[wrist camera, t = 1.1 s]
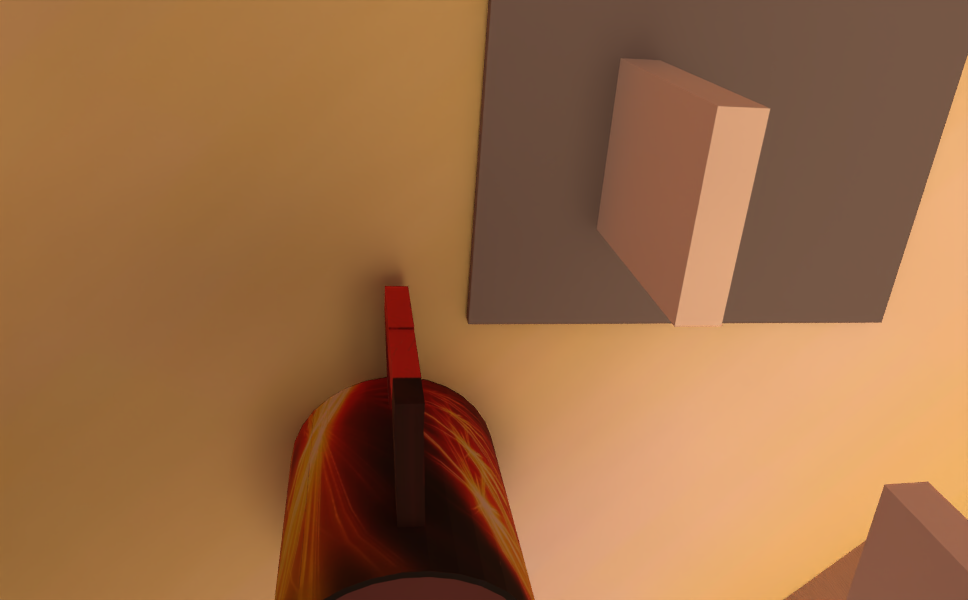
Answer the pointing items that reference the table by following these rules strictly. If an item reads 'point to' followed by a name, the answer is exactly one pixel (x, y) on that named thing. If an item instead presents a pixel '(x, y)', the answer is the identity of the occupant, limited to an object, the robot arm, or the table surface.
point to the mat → (781, 167)
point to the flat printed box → (831, 580)
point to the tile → (679, 185)
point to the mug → (398, 492)
